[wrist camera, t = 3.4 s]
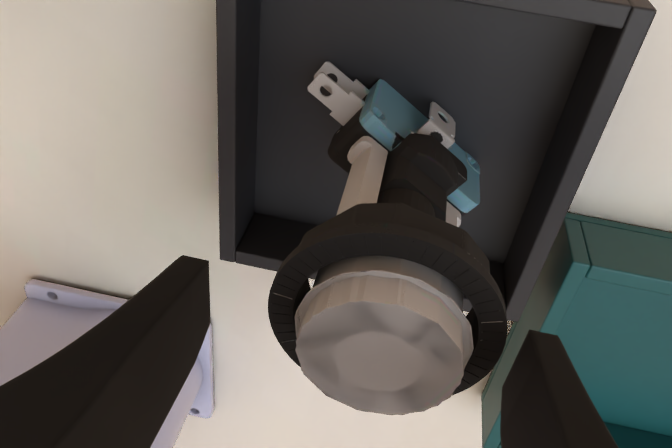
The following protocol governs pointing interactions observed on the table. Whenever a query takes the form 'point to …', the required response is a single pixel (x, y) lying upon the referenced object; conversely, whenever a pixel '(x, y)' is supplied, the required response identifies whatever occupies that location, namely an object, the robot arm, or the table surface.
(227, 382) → the table surface
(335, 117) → the push button
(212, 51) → the table surface
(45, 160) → the table surface
